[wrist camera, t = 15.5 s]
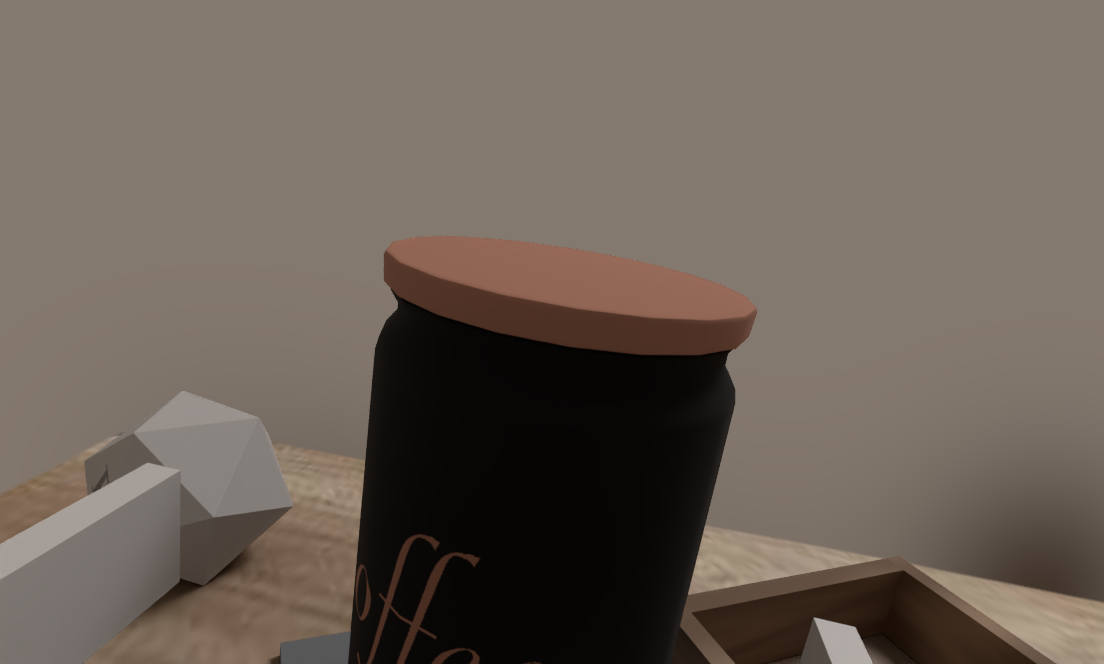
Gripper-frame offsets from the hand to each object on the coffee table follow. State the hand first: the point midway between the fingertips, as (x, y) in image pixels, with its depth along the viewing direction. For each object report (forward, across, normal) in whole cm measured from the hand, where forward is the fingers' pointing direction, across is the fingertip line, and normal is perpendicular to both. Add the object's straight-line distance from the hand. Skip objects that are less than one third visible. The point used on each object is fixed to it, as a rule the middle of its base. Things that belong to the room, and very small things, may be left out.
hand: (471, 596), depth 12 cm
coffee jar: (+7, 0, -12) cm, 14 cm away
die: (+14, -17, -13) cm, 26 cm away
